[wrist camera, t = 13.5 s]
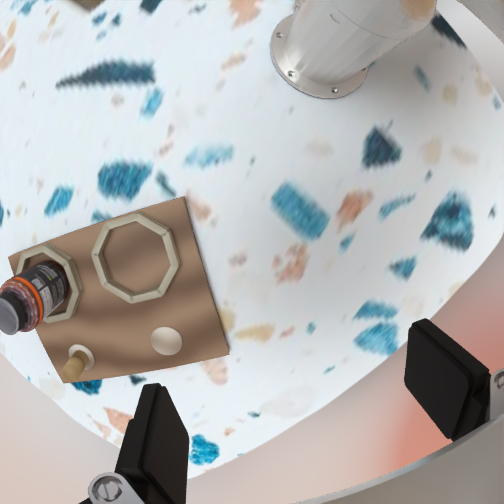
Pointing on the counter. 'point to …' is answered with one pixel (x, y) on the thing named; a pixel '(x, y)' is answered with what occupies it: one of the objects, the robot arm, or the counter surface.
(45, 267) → the supplement bottle
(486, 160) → the counter surface
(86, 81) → the counter surface
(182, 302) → the board
